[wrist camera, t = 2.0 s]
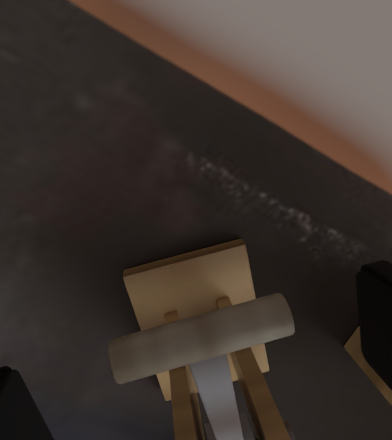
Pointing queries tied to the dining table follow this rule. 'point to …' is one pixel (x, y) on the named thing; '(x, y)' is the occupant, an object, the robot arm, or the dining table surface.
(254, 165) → the dining table surface
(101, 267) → the dining table surface
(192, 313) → the slicer
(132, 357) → the lever
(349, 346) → the stand
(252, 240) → the dining table surface
